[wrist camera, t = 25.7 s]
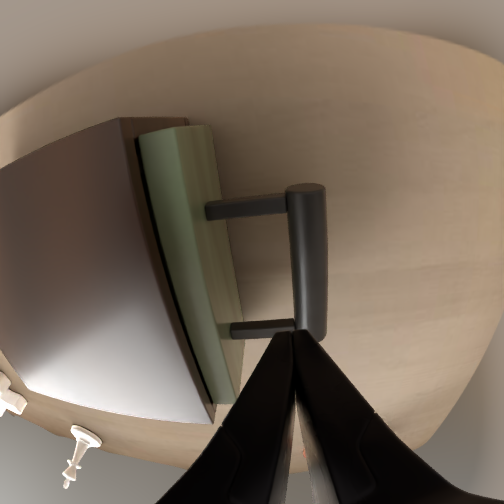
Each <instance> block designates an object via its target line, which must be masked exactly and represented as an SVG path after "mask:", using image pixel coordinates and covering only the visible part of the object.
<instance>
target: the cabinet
mask: <svg viewBox="0 0 504 504" xmlns="http://www.w3.org/2000/svg"><path fill="white" fill-rule="evenodd" d="M180 126H189V121H188V117H118V118H115V119H112V120H109V121H106V122H103V123H100V124H97V125H95V126H92V127H89V128H87V129H84V130H81V131H79V132H76V133H74V134H71V135H69V136H67V137H64V138H62V139H59V140H57V141H55V142H53V143H50V144H48V145H46V146H44V147H42V148H40V149H38V150H35V151H33V152H31V153H29V154H27V155H25V156H23V157H21V158H20V159H18V160H16V161H14V162H12V163H10V164H8V165H7V166H5V167H3V168H1V169H0V350H1V351H2V353H3V354H4V356H5V357H6V359H7V360H8V362H9V363H10V364H11V366H12V367H13V369H14V370H15V372H16V373H17V374H18V376H19V377H20V378H21V380H22V381H23V382H24V384H25V385H26V386H27V387H28V389H29V390H32V391H35V392H37V393H40V394H43V395H47V396H50V397H53V398H56V399H60V400H63V401H66V402H70V403H74V404H78V405H81V406H85V407H90V408H94V409H98V410H103V411H108V412H113V413H118V414H123V415H129V416H135V417H141V418H148V419H156V420H164V421H173V422H184V423H197V424H214V419H215V412H216V407H217V404H214V403H213V400H212V398H211V395H210V393H209V390H208V388H207V385H206V383H205V380H204V377H203V375H202V372H201V369H200V367H199V364H198V361H197V358H196V360H195V362H194V359H193V357H192V354H191V351H190V349H189V346H188V343H187V340H186V337H185V334H184V332H183V329H182V326H181V323H180V320H179V317H178V314H177V311H176V308H175V304H174V301H173V298H172V295H171V292H170V288H169V285H168V282H167V279H166V275H165V272H164V268H163V265H162V261H161V258H160V254H159V250H158V247H157V243H156V239H155V235H154V231H153V227H152V223H151V219H150V215H149V211H148V207H147V203H146V198H145V194H144V189H143V184H142V180H141V175H140V170H139V165H138V160H137V154H136V153H138V152H140V147H139V141H138V136H140V135H142V134H146V133H150V132H154V131H158V130H162V129H167V128H171V127H180Z"/></svg>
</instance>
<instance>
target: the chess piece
mask: <svg viewBox="0 0 504 504" xmlns="http://www.w3.org/2000/svg"><path fill="white" fill-rule="evenodd" d="M71 432H72V434H73V435H74V436H75V437H76V438H77V439H76V440H77V445H76V449H75V453H74V456H73V459H72V461H71V460H68V463H69V464H70V466H69V467H68V468H67V469H66V470H65V471H64V472H63V475H64V476H65V477H66V481H65V480H64V486H63V487H64V488H66V489H67V487H68V486H69V485H70V484H69V482H70V480H73V481H75V480H76V469H77V468H79V469H80V468H81V466H80V465H78V463H79V461H80V459H81V458H82V456H83V454H84V453H85V451H86V450H87V448H88V447H89V448H90V446H93V447H100V444H102V441H101V440H100V439H99V438H98V437H97V436H96V435H95V434H93V433H92V432H90V431H88V430H87V429H85V428H82V427H80V426H77V425H73V426H72V429H71Z"/></svg>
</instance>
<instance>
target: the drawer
mask: <svg viewBox="0 0 504 504" xmlns="http://www.w3.org/2000/svg"><path fill="white" fill-rule="evenodd" d="M138 141H139V147H140V152H138V153H136V154H137V160H138V165H139V170H140V175H141V180H142V184H143V189H144V194H145V198H146V203H147V207H148V211H149V215H150V219H151V223H152V227H153V231H154V235H155V239H156V243H157V247H158V250H159V254H160V258H161V261H162V265H163V268H164V272H165V275H166V279H167V282H168V285H169V288H170V292H171V295H172V298H173V301H174V304H175V308H176V311H177V314H178V317H179V320H180V323H181V326H182V329H183V332H184V334H185V337H186V340H187V343H188V346H189V349H190V351H191V354H192V357H193V359H194V362H195V360H196V358H197V361H198V364H199V367H200V369H201V372H202V375H203V377H204V380H205V383H206V385H207V388H208V390H209V393H210V395H211V398H212V400H213V403H214V404H234V403H235V401H236V400H237V398H238V396H239V392H240V383H241V374H242V364H243V355H244V346H245V339H259V338H273V336H274V334H275V333H276V332H277V331H287V330H289V331H291V333H292V331H293V330H298V329H307V330H308V331H309V332H310V333H311V334H312V336H313V337H314V338H315V339H316V340H317V342H320V341H322V340H323V339H324V338H325V336H326V333H327V303H328V238H327V207H326V188H325V186H323V185H320V184H315V183H302V184H295V185H291V186H289V187H287V188H286V189H285V194H284V193H279V194H269V195H259V196H249V197H240V198H232V199H223V200H222V195H221V188H220V182H219V176H218V169H217V163H216V156H215V150H214V143H213V137H212V130H211V125H194V126H180V127H171V128H167V129H162V130H158V131H154V132H150V133H146V134H142V135H140V136H138ZM282 213H287V218H288V230H289V242H290V255H291V269H292V284H293V300H294V318H295V321H294V318H289V319H277V320H264V321H248V322H243V316H242V311H241V305H240V300H239V294H238V289H237V283H236V277H235V272H234V266H233V260H232V255H231V249H230V243H229V237H228V231H227V225H226V219H232V218H242V217H251V216H261V215H271V214H282Z"/></svg>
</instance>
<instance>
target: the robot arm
mask: <svg viewBox="0 0 504 504" xmlns="http://www.w3.org/2000/svg"><path fill="white" fill-rule="evenodd" d="M295 395H296V399H295ZM296 406H297V412H298V417H299V422H300V428H301V433H302V438H303V443H304V448H305V453H306V458H307V463H308V469H309V474H310V479H311V485H312V490H313V495H314V501H315V504H504V501H503V500H497V499H492V498H488V497H483V496H479V495H475V494H471V493H468V492H466V491H463V490H461V489H459V488H457V487H455V486H454V485H452V484H451V483H450V482H448V481H447V480H445V479H444V478H443V477H442V476H441V475H440V474H438V473H437V472H436V471H435V470H434V469H432V467H430V466H429V465H428V464H427V463H426V462H424V461H423V460H422V459H421V458H420V457H419V456H418V455H417V454H415V453H414V452H413V451H412V450H411V449H410V448H409V447H408V446H407V445H406V444H405V443H404V442H403V441H401V440H400V439H399V438H398V437H397V436H396V434H395V433H394V432H393V431H392V430H391V429H390V428H389V427H388V426H387V424H386V423H385V422H384V421H383V420H382V419H381V417H380V416H379V415H378V414H377V413H374V412H375V410H374V409H373V408H372V407H371V406H370V404H369V403H368V402H367V401H366V400H365V398H364V397H363V396H362V395H361V394H360V392H359V391H358V390H357V389H356V388H355V386H354V385H353V384H352V383H351V382H350V380H349V379H348V378H347V377H346V376H345V374H344V373H343V372H342V371H341V369H340V368H339V367H338V366H337V365H336V363H335V362H334V361H333V360H332V359H331V357H330V356H329V355H328V354H327V353H326V351H325V350H324V349H323V348H322V346H321V345H320V344H319V343H318V342H317V340H316V339H315V338H314V337H313V336H312V334H311V333H310V332H309V331H308V330H307V329H298V330H293V331H292V333H291V331H289V330H287V331H277V332H276V333H275V334H274V336H273V338H272V339H271V341H270V343H269V345H268V347H267V348H266V350H265V352H264V354H263V355H262V357H261V359H260V361H259V362H258V364H257V366H256V368H255V369H254V371H253V373H252V375H251V376H250V378H249V380H248V381H247V383H246V385H245V386H244V388H243V390H242V391H241V393H240V395H239V396H238V398H237V400H236V401H235V403H234V405H233V406H232V408H231V409H230V411H229V413H228V414H227V416H226V418H225V419H224V421H223V422H222V426H220V427H219V428H218V430H217V431H216V433H215V435H214V436H213V438H212V439H211V441H210V442H209V443H208V445H207V446H206V448H205V449H204V450H203V452H202V453H201V455H200V456H199V457H198V458H197V459H196V461H195V462H194V463H193V464H192V465H191V466H190V468H189V469H188V470H187V471H186V472H185V473H184V474H183V475H182V476H181V477H180V479H179V480H178V481H177V482H176V483H175V484H174V485H173V486H172V487H171V488H170V489H169V490H168V491H167V492H166V493H165V494H164V495H163V496H162V497H161V498H160V499H159V500H158V501H157V502H156V503H155V504H285V498H286V491H287V483H288V476H289V468H290V459H291V450H292V441H293V432H294V421H295V408H296Z"/></svg>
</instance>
